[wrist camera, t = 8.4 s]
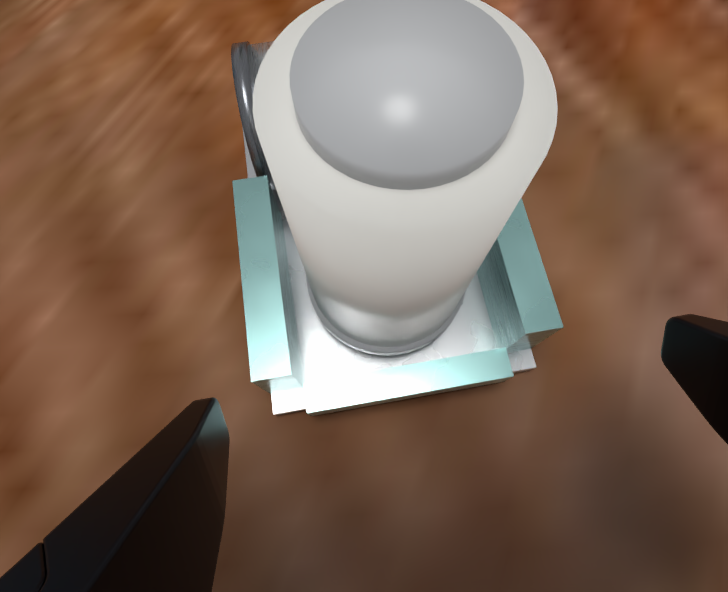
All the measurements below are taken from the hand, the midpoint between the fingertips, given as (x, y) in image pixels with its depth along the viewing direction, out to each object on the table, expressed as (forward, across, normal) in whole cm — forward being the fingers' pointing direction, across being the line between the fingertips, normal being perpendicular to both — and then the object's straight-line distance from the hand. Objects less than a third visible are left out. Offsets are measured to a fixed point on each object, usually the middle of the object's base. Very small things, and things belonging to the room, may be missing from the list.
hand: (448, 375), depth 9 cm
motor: (+11, 0, +1) cm, 11 cm away
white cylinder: (+9, 0, +2) cm, 9 cm away
